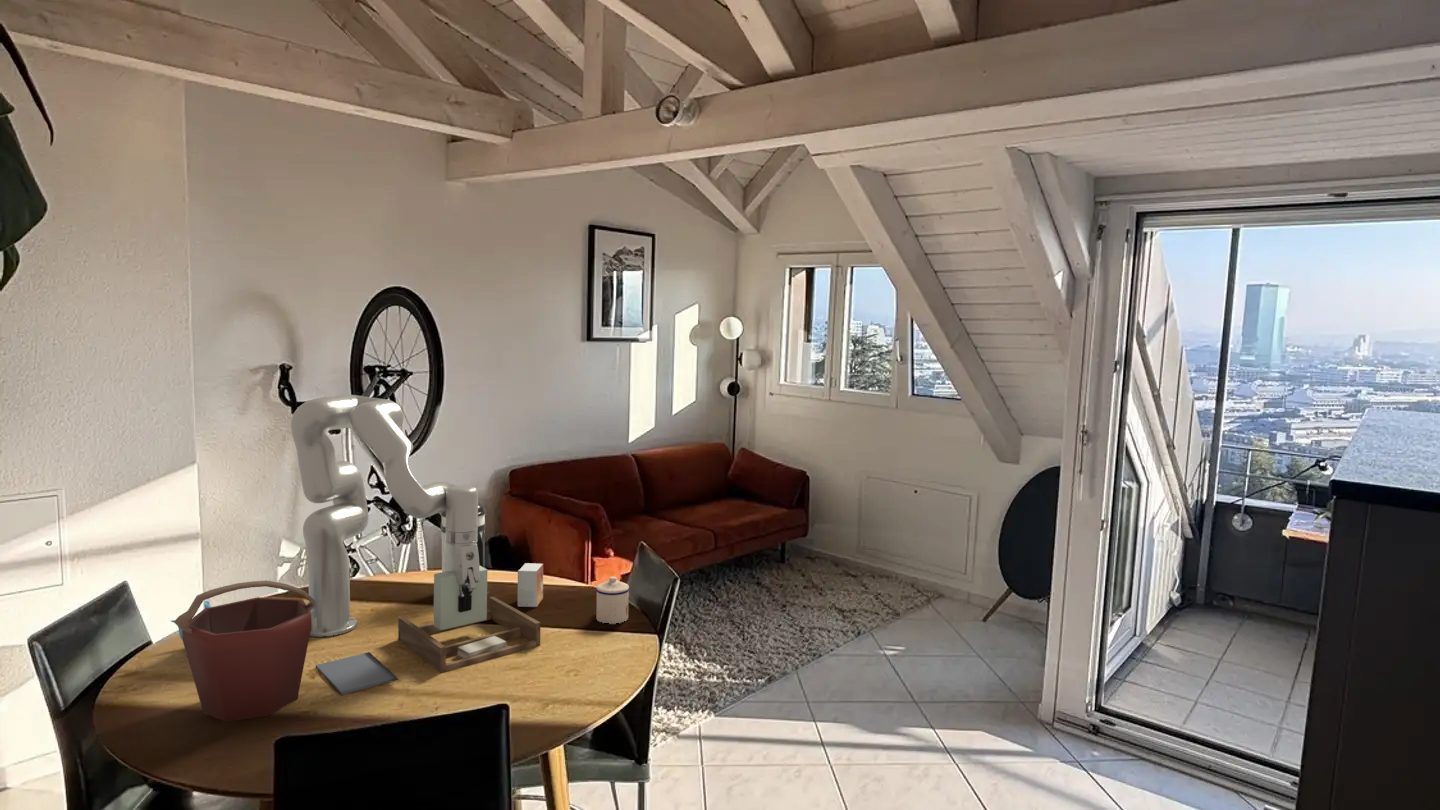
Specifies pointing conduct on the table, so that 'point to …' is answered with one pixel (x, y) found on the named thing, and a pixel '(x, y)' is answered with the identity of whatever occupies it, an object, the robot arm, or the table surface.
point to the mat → (356, 673)
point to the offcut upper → (481, 647)
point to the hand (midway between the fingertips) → (460, 607)
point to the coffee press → (479, 538)
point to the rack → (437, 652)
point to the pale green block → (448, 601)
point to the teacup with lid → (612, 601)
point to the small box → (530, 585)
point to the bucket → (247, 651)
